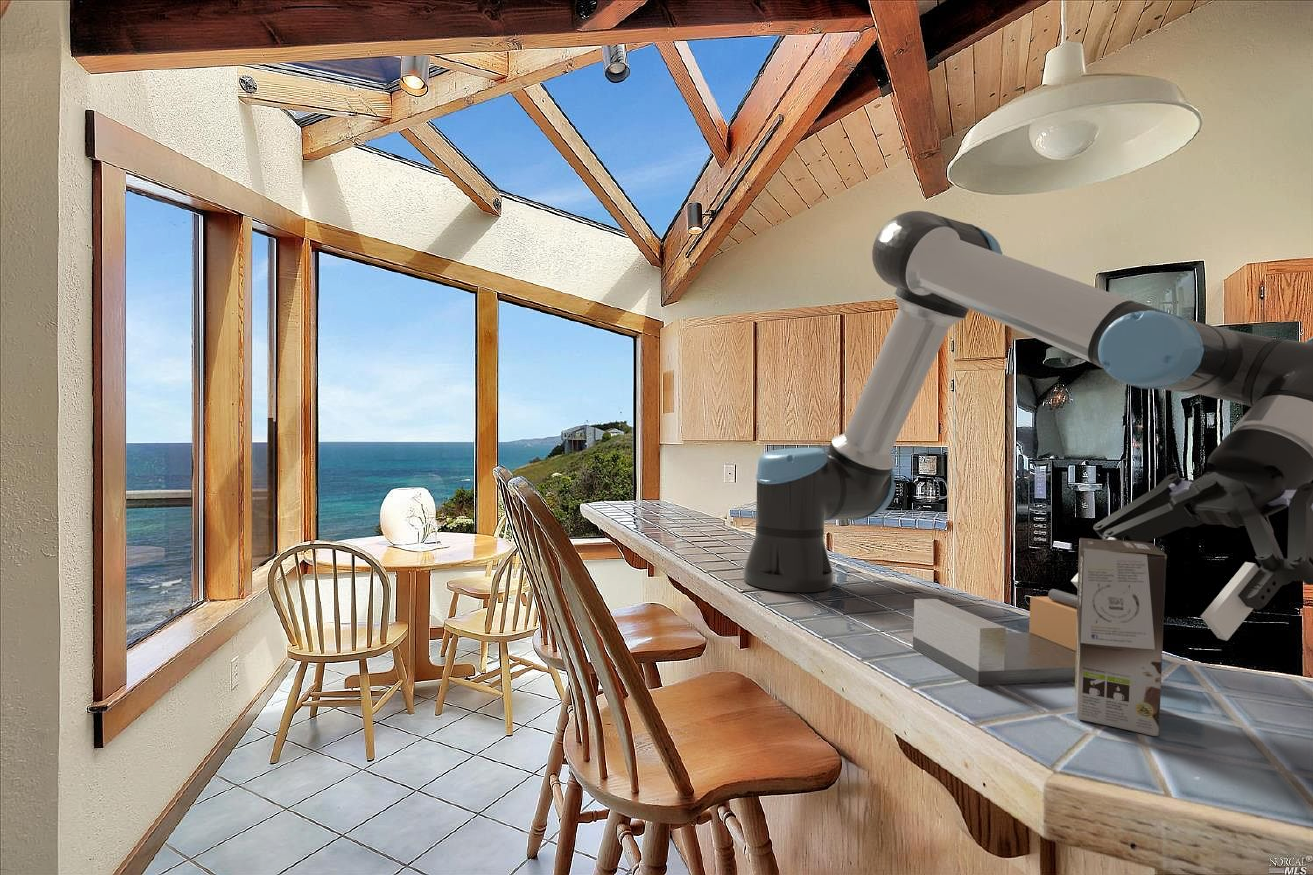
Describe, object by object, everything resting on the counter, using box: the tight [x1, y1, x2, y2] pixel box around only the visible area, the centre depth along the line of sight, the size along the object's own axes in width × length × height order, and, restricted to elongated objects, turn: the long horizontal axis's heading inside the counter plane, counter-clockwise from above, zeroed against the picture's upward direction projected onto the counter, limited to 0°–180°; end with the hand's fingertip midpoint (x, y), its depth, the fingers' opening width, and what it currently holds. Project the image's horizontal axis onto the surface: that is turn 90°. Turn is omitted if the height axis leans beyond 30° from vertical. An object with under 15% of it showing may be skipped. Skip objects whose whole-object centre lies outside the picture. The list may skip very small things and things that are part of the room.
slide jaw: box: [1028, 588, 1077, 651], centre depth 78 cm, size 12×3×6 cm, turn 11°
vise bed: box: [912, 598, 1076, 687], centre depth 77 cm, size 12×20×6 cm, turn 101°
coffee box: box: [1074, 537, 1168, 737], centre depth 63 cm, size 9×6×16 cm
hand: (1140, 607), depth 63 cm, fingers open, 13 cm apart
